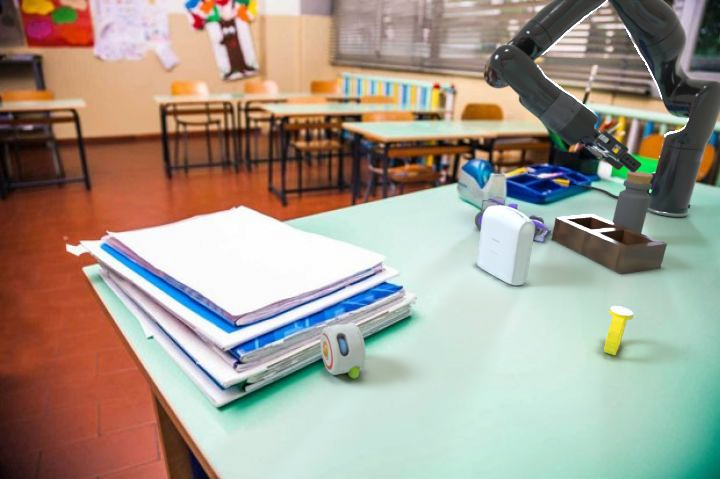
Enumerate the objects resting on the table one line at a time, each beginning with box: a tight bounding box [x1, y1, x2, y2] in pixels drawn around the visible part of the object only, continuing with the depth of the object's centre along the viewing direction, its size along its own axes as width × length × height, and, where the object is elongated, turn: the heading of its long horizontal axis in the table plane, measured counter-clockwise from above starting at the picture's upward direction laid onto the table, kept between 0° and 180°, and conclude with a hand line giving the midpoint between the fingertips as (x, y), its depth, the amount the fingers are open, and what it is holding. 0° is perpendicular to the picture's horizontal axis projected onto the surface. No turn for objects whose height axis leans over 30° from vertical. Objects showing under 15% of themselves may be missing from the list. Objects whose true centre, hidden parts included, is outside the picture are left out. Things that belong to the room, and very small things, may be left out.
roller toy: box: [319, 322, 367, 379], centre depth 59 cm, size 4×6×6 cm
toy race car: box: [474, 195, 552, 243], centre depth 109 cm, size 10×15×6 cm, turn 57°
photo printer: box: [476, 205, 535, 286], centre depth 86 cm, size 10×4×12 cm, turn 26°
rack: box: [551, 213, 668, 275], centre depth 99 cm, size 18×10×5 cm, turn 21°
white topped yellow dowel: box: [603, 305, 634, 356], centre depth 65 cm, size 6×3×6 cm, turn 144°
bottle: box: [612, 171, 653, 234], centre depth 104 cm, size 6×6×15 cm
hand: (629, 167), depth 100 cm, fingers open, 8 cm apart
